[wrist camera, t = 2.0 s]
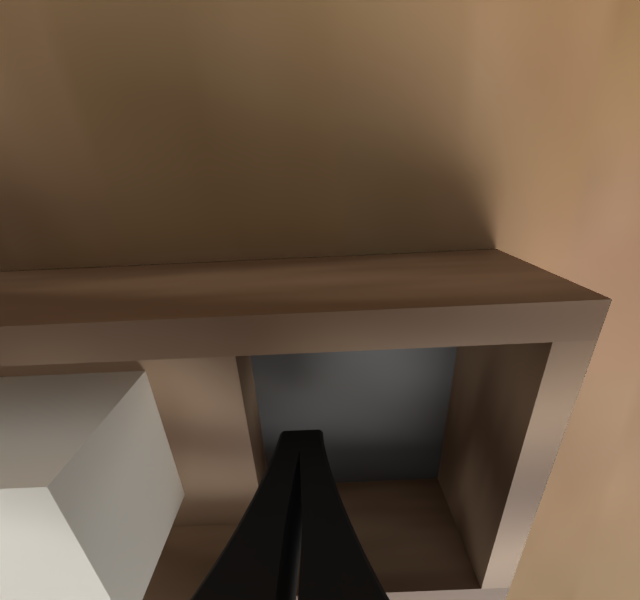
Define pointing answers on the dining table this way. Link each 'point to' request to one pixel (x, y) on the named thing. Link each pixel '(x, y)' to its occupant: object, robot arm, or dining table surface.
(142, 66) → the dining table surface
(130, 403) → the cream block
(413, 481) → the trap box
